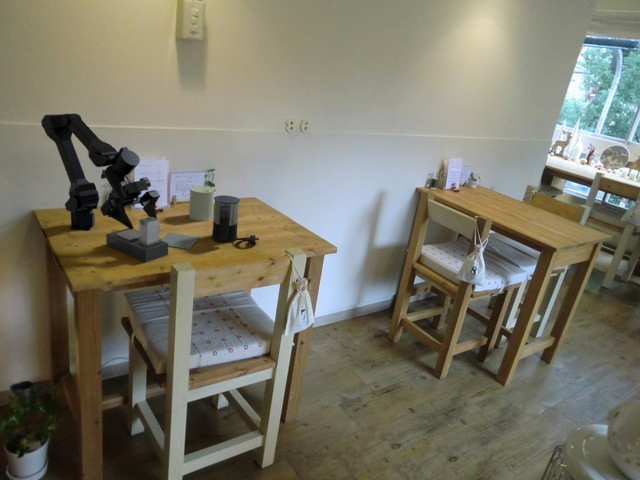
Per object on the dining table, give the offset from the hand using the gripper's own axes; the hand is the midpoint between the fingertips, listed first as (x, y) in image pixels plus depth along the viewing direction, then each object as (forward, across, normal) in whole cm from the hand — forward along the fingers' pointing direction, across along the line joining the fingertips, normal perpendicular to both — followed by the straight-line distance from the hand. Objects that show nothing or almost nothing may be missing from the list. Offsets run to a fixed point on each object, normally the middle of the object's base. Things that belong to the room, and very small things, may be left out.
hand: (144, 225), depth 151 cm
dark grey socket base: (+4, 0, +9) cm, 10 cm away
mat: (+6, +15, +7) cm, 18 cm away
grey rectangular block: (+7, 0, +4) cm, 8 cm away
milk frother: (+15, +31, -1) cm, 34 cm away
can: (-3, +39, +16) cm, 43 cm away
